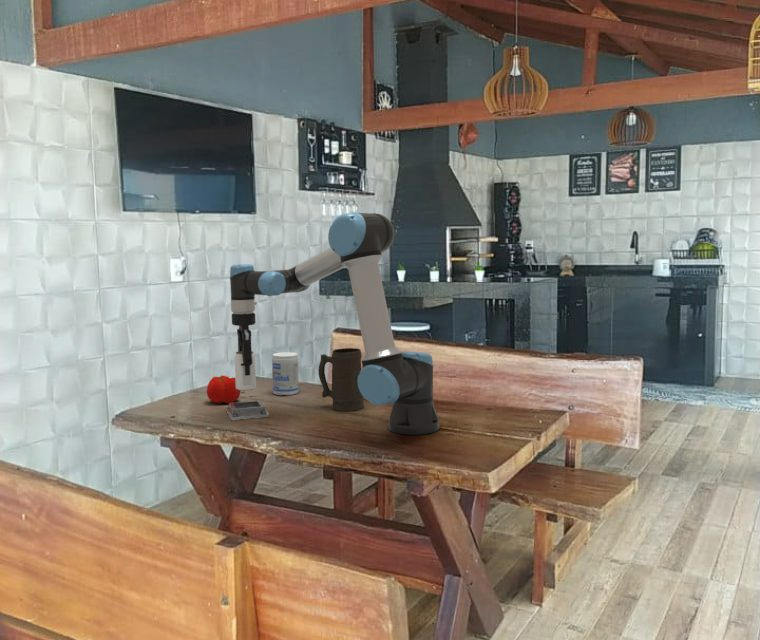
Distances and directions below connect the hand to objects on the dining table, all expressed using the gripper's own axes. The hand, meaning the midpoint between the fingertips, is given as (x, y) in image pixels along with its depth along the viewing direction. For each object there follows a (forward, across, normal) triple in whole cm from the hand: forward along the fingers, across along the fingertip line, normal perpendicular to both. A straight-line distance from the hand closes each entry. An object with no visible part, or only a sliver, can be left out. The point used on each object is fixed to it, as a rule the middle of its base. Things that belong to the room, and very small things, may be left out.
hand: (245, 382), depth 235 cm
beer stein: (+10, -3, -31) cm, 33 cm away
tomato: (+11, +20, +5) cm, 23 cm away
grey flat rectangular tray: (+10, 0, 0) cm, 10 cm away
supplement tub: (+11, +26, -18) cm, 33 cm away
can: (+2, 0, 0) cm, 2 cm away
